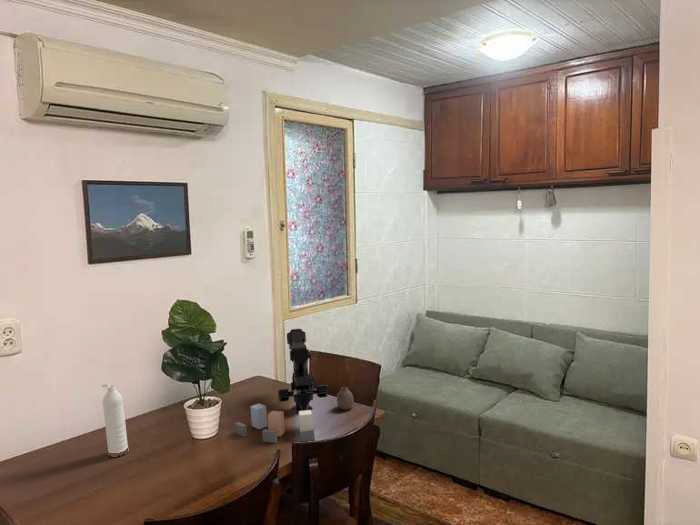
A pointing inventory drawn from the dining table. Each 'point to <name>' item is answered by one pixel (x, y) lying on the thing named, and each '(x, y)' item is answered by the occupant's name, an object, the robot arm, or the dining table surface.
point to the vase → (345, 399)
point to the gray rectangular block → (258, 416)
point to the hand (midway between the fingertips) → (305, 414)
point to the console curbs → (274, 433)
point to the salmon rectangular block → (276, 422)
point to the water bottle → (114, 420)
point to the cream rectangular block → (305, 419)
